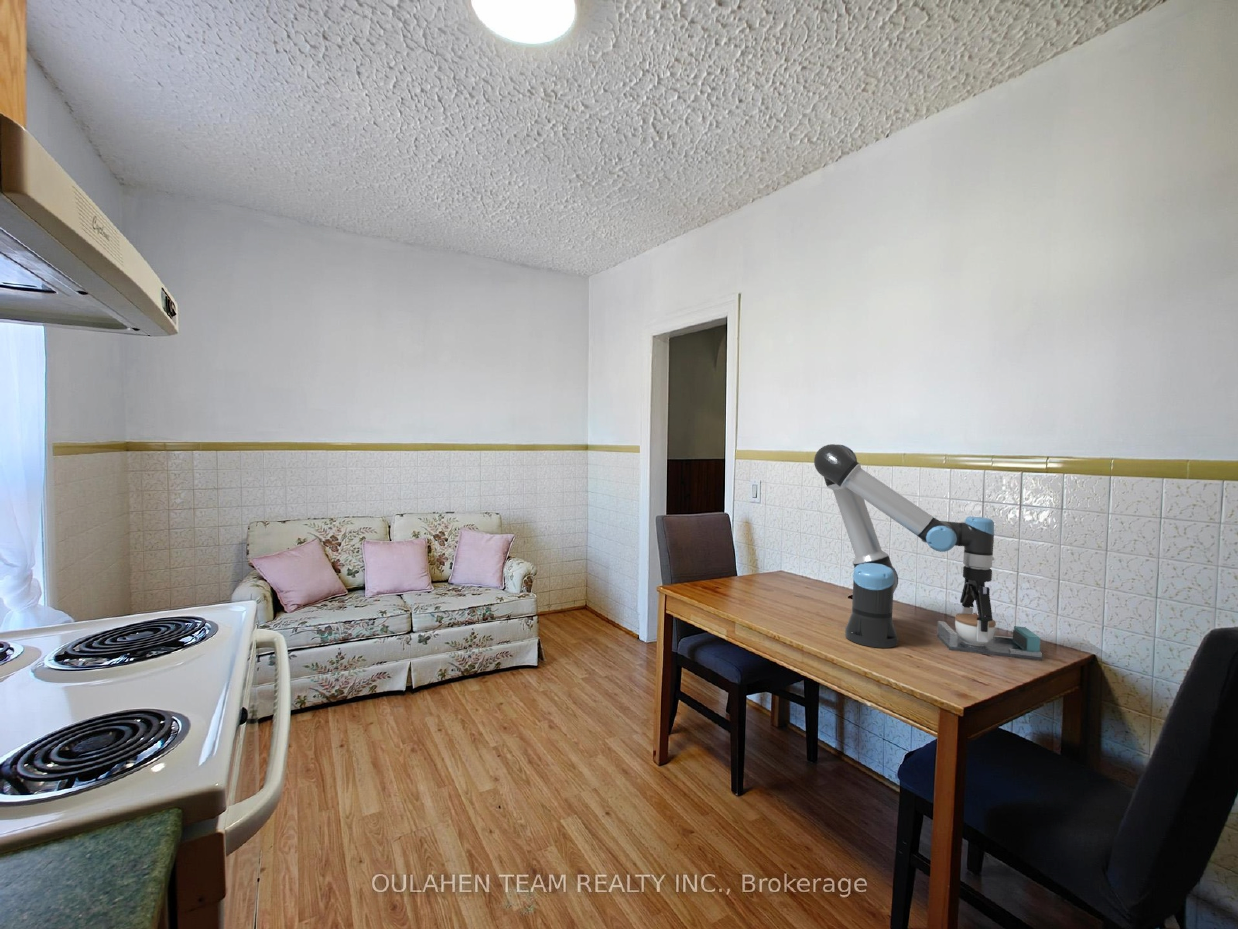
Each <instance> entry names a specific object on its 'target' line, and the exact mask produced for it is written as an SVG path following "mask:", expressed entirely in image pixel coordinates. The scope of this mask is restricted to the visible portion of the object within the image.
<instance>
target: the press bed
mask: <svg viewBox="0 0 1238 929" xmlns="http://www.w3.org/2000/svg"><path fill="white" fill-rule="evenodd" d="M936 634H937V635H936V636H937V638H939V640H940V641H941V643H943V644H944V645H945V647H946V648H947V649H948V650H949V651H956V652H966V653H973V654H982V655H991V656H999V657H1007V658H1008V657H1009V658H1015V659H1016V658H1017V659H1025V660H1035V661H1042V660H1043V659H1042V658H1043V653H1042V652H1041V651H1040V652H1036V651H1027V650H1023V649H1022V648H1021V647H1019V646H1018V645H1017V644H1016V643H1014V642H1013V636H1003V635H994V636H993V638H992V640H991V641H990V642H989V643H987V644H986V645H985V646H973V645H969V644H966V643H964V642H963V641H962V639H961V638H960V637H959V636H958V634H957V632H956V630H954V629H953V628H952V627H951V626H949V624H948V623H947V622H946V621H941V620H937V632H936Z"/></svg>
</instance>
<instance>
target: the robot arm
mask: <svg viewBox="0 0 1238 929" xmlns="http://www.w3.org/2000/svg"><path fill="white" fill-rule="evenodd" d="M813 463H814V468H815V470H816V472H818V474H819V475H820V476H822V477H823V480H824V482H825V486H826V488H828V489H830V490H831V491H832V492H833V494H834V498H835V500H836V503H837V506H838V509H839V512H840V515H841V517H842V520H843V523H844V527H845V529H846V533H847V535H848V539H849V542H850V544H851V547H852V550H853V554H854V555H855V556H854V557H855V558H854V559H853V561H852V564H853V565H852V566H853V568H854V569H853V574H852V579H853V582H852V583H853V584H852V601H851V602H852V605H851V614H850V617H849V620H848V622H847V624H846V626H845V632H844V636H845V638H846V639H847V640H849V641H851V642H852V643H854V644H858V645H861V646H865V647H870V648H879V649H885V648H886V649H889V648H893V647H896V646H898V634H897V631H896V627H895V624H894V620H893V606H894V604H893V603H894V593H895V592H896V589H897V588H898V586H899V585H898V584H899V575H898V572H897V570H896V569H895V567H894V566H893V563H892V561H891V559H890V556H889V554H888V553H887V552H885V551H883V550H882V547H881V545H880V542H879V538H878V536H877V533H876V530H875V527H874V524H873V522H872V519H871V515H870V513H869V509H868V506H867V504H866V502H867V503H869V504H871V505H872V506H873V507H875V508H876V509H877V510H879V511H880V512H882V513H883V514H885V515H886V516H888V518H891V519H892V520H893V521H894V522H896V523H898V524H899V525H900V526H902V527H903V528H904V529H906V530H908V531H909V532H911V533H912V534H914V535H916V536H917V538H919V539H921V542H922V543H926V544H927V545H928V546H929V548H931V549H932V550H933V551H936V552H939V553H941V552H942V553H943V552H948V551H950V550H952V549H953V548H954V547H957V546H958V547H963V548H964V549H963V560H962V562H963V563H962V564H963V567H962V568H963V569H962V577H963V578H964V584H963V588H962V591H961V592H962V593H961V596H960V600H959V602H960V604H961V606H962V612H961V614H962V613H965V614H973V613H974V607H975V606H974V602H975V604H976V610H977V615H979V617H978V618H977V620H978V624H977V641H978V642H987V643H988V630H989V621H992V620H994V619H993V612H992V603H991V597H990V595H991V594H990V590H991V589H990V587H989V586H988V587H987V586H986V584H985V583H986V582H987V583H989V582H991V581H992V577H993V570H992V569H991V568H993V561H994V560H995V557H993V555H994V543H995V542H994V539H995V522H994V520H993V519H991V518H988V517H981V516H967V517H966V518H965V521H964V522H957V521H947V520H946V521H945V520H939V519H937V518H936V517H935V516H933V515H931V514H929V512H927V511H925V510H924V509H922V508H921V507H919V506H917V505H916V504H915V503H913V502H912V501H911V500H909V499H907V498H906V497H905V496H903V495H902V494H900V493H899V492H898V491H896V490H894V489H892V488H891V487H890V486H888V485H887V484H885V483H883V482H882V481H881V480H879V479H878V478H876V477H875V476H873V475H871V473H868V472H867V471H866V470H864V469H862V467H861V466H862V465H861V463H859V462H858V458H857V455H856V454H855V452H854V450H852V449H851V448H849V447H848V446H846V445H843V444H835V443H834V444H826V445H823V446H821V447H820V448H819V449H818V450H817V452H816V453H815V455H814V458H813Z"/></svg>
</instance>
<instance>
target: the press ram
mask: <svg viewBox="0 0 1238 929" xmlns="http://www.w3.org/2000/svg"><path fill="white" fill-rule="evenodd" d="M1012 637H1013V642H1014V643H1016V644H1017V645H1018V646H1019V647H1021V648H1022V649H1023V650H1027V651H1036V652H1041V649H1040V648H1041V637H1040V636H1038V635H1037V634H1036V633H1035V632H1033V631H1031V630H1030V629H1028V628H1027V627H1026V626H1025V627H1024V626H1018V625H1017V626H1016V625H1014V626H1013V630H1012Z"/></svg>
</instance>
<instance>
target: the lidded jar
mask: <svg viewBox="0 0 1238 929" xmlns="http://www.w3.org/2000/svg"><path fill="white" fill-rule="evenodd" d="M978 617H979V615H978V612H973V614H965V613H962V612H961V613H957V614H955V615H954V626H955V632H956V633H957V634H958V636H959V637H960V638H961V639H962V641H963V642H964V643H966V644H969V645H973V646H985V645H986V644H987V642H978V641H977V624H978V620H977V618H978ZM996 626H997V622H996V620H994V619H993V620H992V621H989V630H988V643H989V642H990V641H991V640H992V639H993V636H995V632H996Z"/></svg>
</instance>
